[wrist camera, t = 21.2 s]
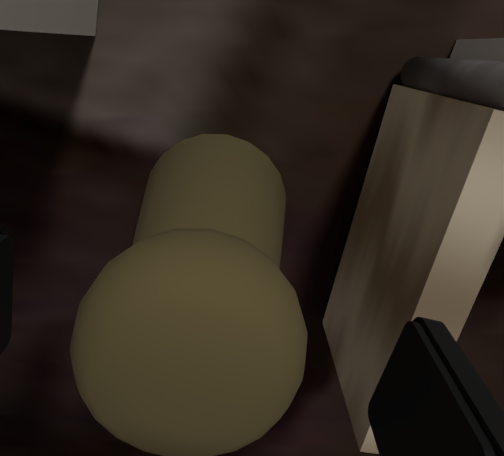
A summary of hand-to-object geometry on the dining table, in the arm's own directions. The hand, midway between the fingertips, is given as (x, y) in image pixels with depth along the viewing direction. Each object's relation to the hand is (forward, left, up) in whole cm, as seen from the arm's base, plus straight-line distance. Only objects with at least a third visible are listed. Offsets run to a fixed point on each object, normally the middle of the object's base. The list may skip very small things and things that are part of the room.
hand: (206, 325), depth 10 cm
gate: (-7, -1, -8) cm, 11 cm away
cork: (0, 0, -9) cm, 9 cm away
